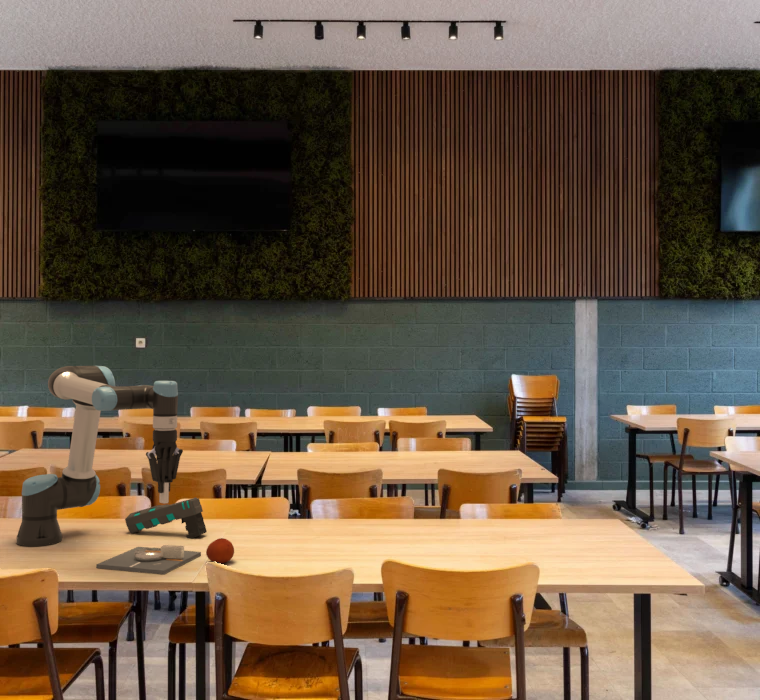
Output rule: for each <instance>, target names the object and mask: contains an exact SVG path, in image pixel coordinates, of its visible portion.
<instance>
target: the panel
mask: <svg viewBox="0 0 760 700" xmlns="http://www.w3.org/2000/svg"><path fill="white" fill-rule="evenodd" d="M144 548H149V547H146V546H136V547H134V548H132V549H129V550H126V551H124V552H122V553H120V554H117V555H116V556H113V557H110V558H108V559H106V560H104V561H101V562H99V563H96V569H102V570H103V569H104V570H111V571H124V572H133V573H134V572H135V573H145V574H154V575H155V574H156V575H166V574H167V573H169V572H171V571H173V570H175V569H177V568H179V567H181V566H183V565H185V564H187V563H189V562H191V561H194V560H195V559H196V558H198V557H202V556H201V555H202V552H201V551H196V550H195V551H194V550H184V557H183V558H182V559H176V558H165V559H162V560H159V561H151V562H142V561H137V560H135V559H134V552H135V551H137V550H140V549H144Z"/></svg>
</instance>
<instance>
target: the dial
mask: <svg viewBox="0 0 760 700" xmlns="http://www.w3.org/2000/svg"><path fill="white" fill-rule="evenodd" d="M184 551H185V545H172V544H171V545H170V544H163V545H161V546H160V547H148V548H144V549H140V550H137V551H135V552H134V559H135V560H137V561H142V562H151V561H159V560H162V559H165V558H176V559H182V558H183V557H184Z"/></svg>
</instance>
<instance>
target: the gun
mask: <svg viewBox="0 0 760 700" xmlns="http://www.w3.org/2000/svg"><path fill="white" fill-rule="evenodd" d="M202 512H204V510H203V507H202V504H201V501H200V498H199V497H198V498H197V497H193V498H189V499H185V500H182V501H181V500H180V501H178V502H175V503H172V504H169V503H165V504H159V505H158V504H157V505H154V506H151V507H148V508H145V509H141V510H137V511H134V512H131V513H129V515H128V516H126V517H125V519H124V521H125V525H126V527H127V529H128V531H129V533H130V534H134V533H137V532H141V531H143V530H144V529H146V530H149V529H152V528H156V527H158V525H165V524H166V525H167V524H170V523H172V522H173V521H176V520H181V524H184V523H185V526H184V527H185V531H187V534H186V538H187V539H188V540H189V539H194V538H197V537H200V536H202V535H204V534H206V533H207V527H206V524H205V521H204V517H203V513H202Z"/></svg>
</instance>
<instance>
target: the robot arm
mask: <svg viewBox="0 0 760 700" xmlns="http://www.w3.org/2000/svg"><path fill="white" fill-rule="evenodd" d="M47 387H48V390H49V392H50V393H51V394H52V395H53V397H55V398H58V399H62V400H64V401H65V400H66V401H67V400H72V403H74V405H75V412H74V417H73V418H74V419H73V425H72V432H71V433H72V434H71V439H70V446H69V447H70V448H69V452H68V453H69V454H68V460H67V461H68V462H67V466H66V467H64V468H63V469H62V472H61V473H62V474H61V477H58V475H57V474H54V473H46V474H39V475H34V476H31V477H29V478H26V479H25V480H24V481H23V482H22V487H21V488H22V489H21V523H20V526H19V529H18V533H17V535H16V537H15V538H16V541H15V542H16V544H17V545H19V546H22V547H41V546H49V545H54V544H57V543H60V542H62V541H63V533H62V531H61V527H60V525H59V521H58V511H59V510H66V509H67V510H68V509H73V508H82V507H87V506H91V505H92V504H94V503H95V502H96V501H97V499H98V497H99V496H100V492H101V484H100V482H101V481H100V478H99V476H98V475H97V473H96V471H95V470H94V469H93V466H94V458H95V450H96V444H97V438H98V433H99V425H100V423H99V422H100V419H101V418H100V417H101V412H102V411H103V412H111V411H122V410H123V411H124V410H126V411H127V410H142V409H144V410H145V409H150V410H153V412H152V428H153V429H154V430H153V431H152V441H153V445H152V449H151V450H150V451H147V452H146V453H145V456H146V457H147V458H146V459H148V462H149V463H148V464H149V470H150V474H151V479H152V481H153V482H155V483H157V492H158V494H159V497H158V498H159V502H158V503H161V504H163V505H166V504H169V497H170V495H169V494H170V492H171V483H173V481H174V480H176V479H177V474H178V469H179V466H180V465H179V464H180V461H181V456H182V454H183V452H184V451H183V449H181V448H179V447H178V445H177V442H176V441H178V430H177V428H178V407H179V405H178V401H179V391H178V389H179V388H178V382H177V381H175V380H155V381H154V383H153V385H149V384H140V385H128V386H127V385H126V386H123V385H122V386H120V385H119V386H117V385H116V381H115V377H114V375H113V372H112V370H111V369H110V368H108V367H107V366H104V365H103V366H102V365H66V366H61V367H60V368H57V369H56V370H55V371H53V372H52V373H51V374H50V375H49V377H48V382H47Z"/></svg>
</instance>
